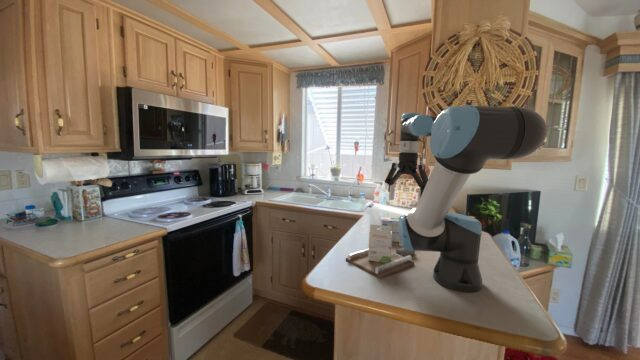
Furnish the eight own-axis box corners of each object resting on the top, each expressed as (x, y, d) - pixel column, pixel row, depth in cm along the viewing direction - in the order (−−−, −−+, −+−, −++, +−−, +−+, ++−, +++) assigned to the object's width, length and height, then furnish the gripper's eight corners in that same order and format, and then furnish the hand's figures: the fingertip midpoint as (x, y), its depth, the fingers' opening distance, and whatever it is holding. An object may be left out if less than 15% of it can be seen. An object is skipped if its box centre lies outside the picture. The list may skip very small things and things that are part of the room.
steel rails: (411, 260, 105) (411, 256, 104) (377, 274, 93) (378, 268, 92) (381, 248, 117) (381, 244, 116) (348, 259, 105) (348, 254, 104)
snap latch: (412, 246, 114) (412, 241, 114) (407, 248, 112) (407, 243, 112) (404, 243, 117) (404, 239, 117) (399, 245, 115) (399, 241, 115)
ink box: (391, 259, 106) (393, 223, 104) (390, 264, 101) (392, 226, 99) (369, 255, 109) (371, 220, 107) (367, 260, 104) (369, 224, 102)
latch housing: (414, 253, 114) (414, 250, 114) (406, 256, 111) (407, 253, 111) (403, 249, 119) (403, 246, 119) (396, 252, 116) (396, 249, 115)
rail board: (414, 264, 104) (414, 262, 104) (380, 278, 92) (380, 275, 92) (378, 249, 118) (378, 247, 118) (345, 260, 106) (345, 257, 106)
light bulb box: (400, 237, 135) (401, 217, 134) (402, 242, 128) (404, 221, 127) (378, 236, 136) (380, 216, 135) (380, 241, 129) (381, 219, 128)
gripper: (378, 150, 115) (375, 198, 118) (433, 152, 96) (428, 209, 99) (388, 151, 120) (386, 196, 123) (442, 153, 101) (438, 207, 104)
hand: (405, 202), depth 111 cm, fingers open, 13 cm apart
